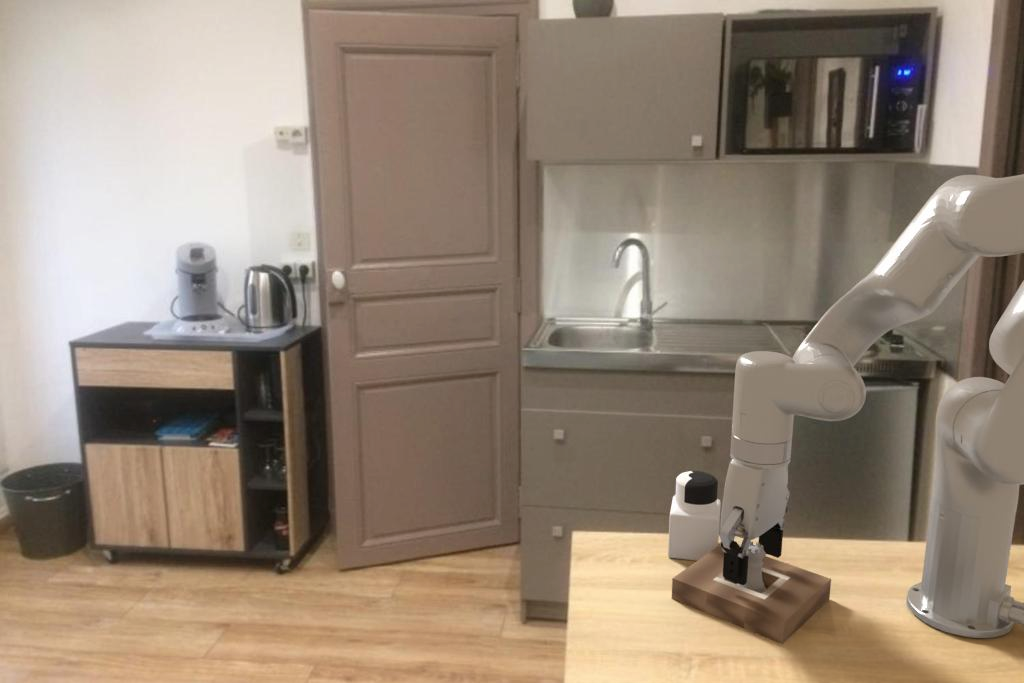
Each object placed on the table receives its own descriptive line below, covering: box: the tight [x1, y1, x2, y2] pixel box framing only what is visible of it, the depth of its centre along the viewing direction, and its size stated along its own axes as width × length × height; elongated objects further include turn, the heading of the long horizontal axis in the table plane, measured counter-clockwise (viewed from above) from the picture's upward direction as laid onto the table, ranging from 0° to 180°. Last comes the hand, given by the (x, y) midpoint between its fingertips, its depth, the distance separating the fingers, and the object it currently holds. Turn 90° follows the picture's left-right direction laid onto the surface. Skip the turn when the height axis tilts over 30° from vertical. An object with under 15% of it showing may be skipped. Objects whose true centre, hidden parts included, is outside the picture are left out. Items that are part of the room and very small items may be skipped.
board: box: [671, 544, 832, 645], centre depth 119 cm, size 16×14×3 cm
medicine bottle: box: [667, 470, 722, 562], centre depth 131 cm, size 7×7×12 cm
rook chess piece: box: [736, 541, 767, 593], centre depth 118 cm, size 4×4×8 cm
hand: (752, 567), depth 118 cm, fingers open, 9 cm apart
